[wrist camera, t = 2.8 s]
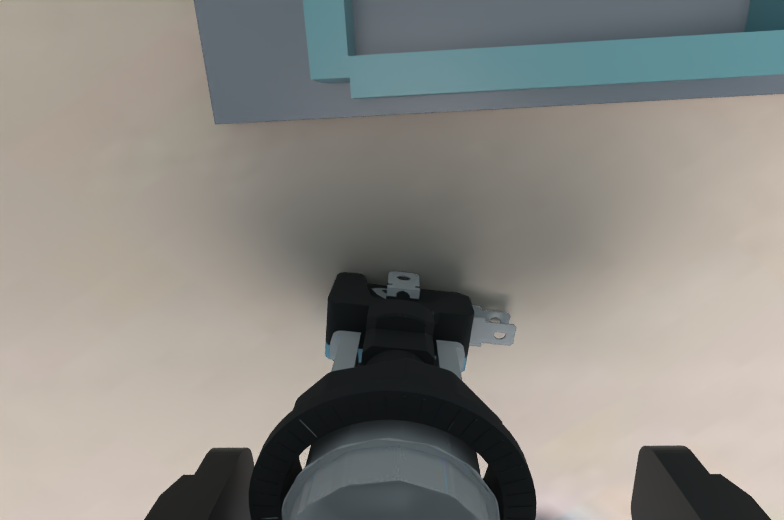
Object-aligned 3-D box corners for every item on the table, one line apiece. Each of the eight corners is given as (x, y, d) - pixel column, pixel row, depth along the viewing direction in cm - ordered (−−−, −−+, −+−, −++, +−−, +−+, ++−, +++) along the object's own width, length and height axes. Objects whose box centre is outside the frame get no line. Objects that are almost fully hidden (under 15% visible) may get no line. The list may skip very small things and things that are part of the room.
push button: (518, 250, 16) (678, 460, 7) (493, 379, 18) (591, 690, 8) (331, 232, 16) (223, 415, 7) (324, 362, 18) (232, 655, 8)
